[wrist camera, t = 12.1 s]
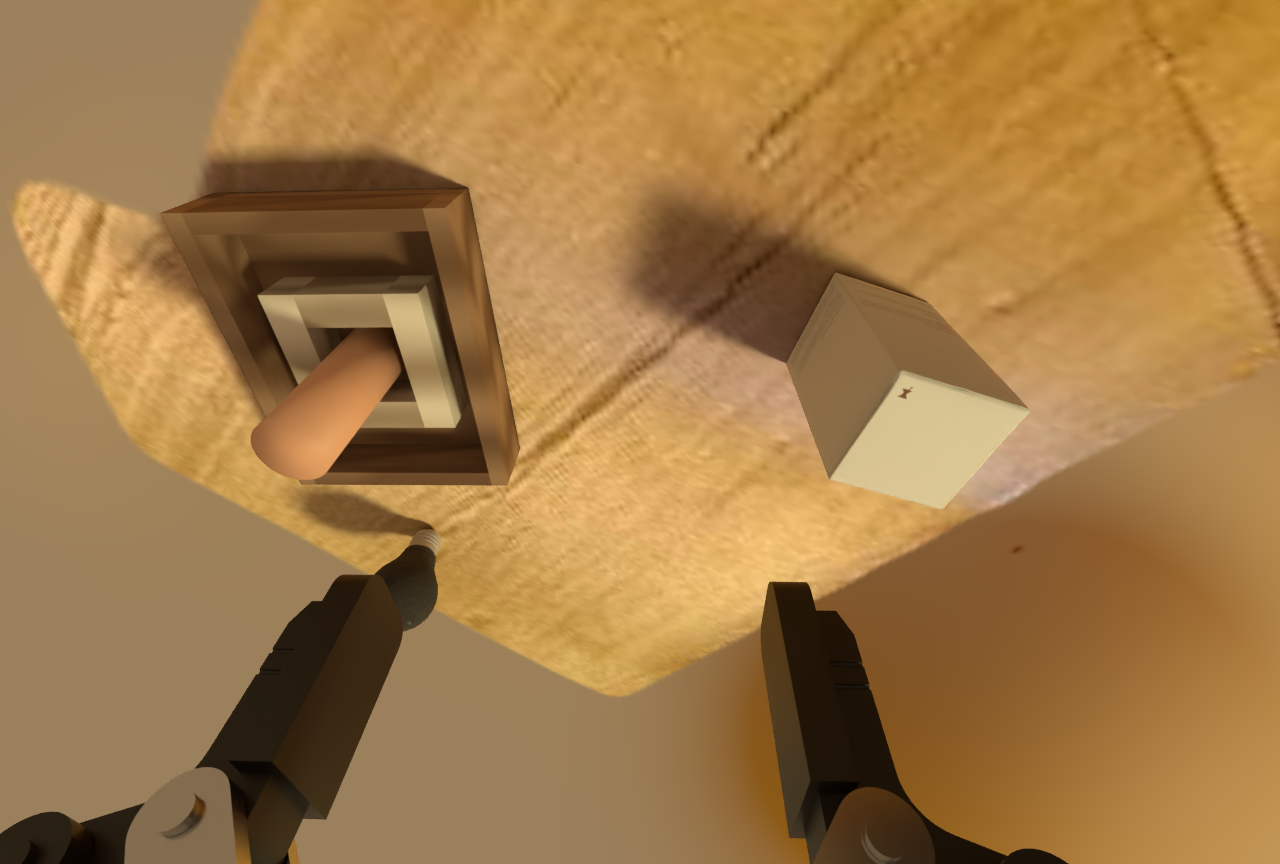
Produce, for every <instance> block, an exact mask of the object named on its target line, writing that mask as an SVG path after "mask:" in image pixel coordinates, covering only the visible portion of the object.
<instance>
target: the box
mask: <svg viewBox="0 0 1280 864" xmlns="http://www.w3.org/2000/svg"><path fill="white" fill-rule="evenodd" d="M160 215H161V217H162V219H163V221H164V223H165V224H166V226H167V228H168V230H169V232H170V234H171V236H172V238H173V240H174V242H175V244H176V246H177V247H178V249H179V251H180V253H181V255H182V257H183V259H184V261H185V263H186V265H187V267H188V268H189V270H190V272H191V274H192V276H193V278H194V280H195V282H196V284H197V286H198V288H199V290H200V291H201V293H202V295H203V297H204V299H205V301H206V303H207V305H208V307H209V309H210V311H211V313H212V314H213V316H214V318H215V320H216V322H217V324H218V326H219V328H220V330H221V332H222V334H223V336H224V337H225V339H226V341H227V343H228V345H229V347H230V349H231V351H232V353H233V355H234V357H235V359H236V360H237V362H238V364H239V366H240V368H241V370H242V372H243V374H244V376H245V378H246V380H247V382H248V383H249V385H250V387H251V389H252V391H253V393H254V395H255V397H256V399H257V401H258V403H259V405H260V406H261V408H262V410H263V412H264V414H265V416H266V417H267V416H268V415H269V414H270V413H271V412H272V411H273V410H274V409H275V408H276V407H277V406H278V405H279V404H280V403H281V402H282V401H283V400H284V399H285V398H286V397H287V396H288V395H289V394H290V393H291V392H292V391H293V390H294V389H295V388H296V387H297V386H298V385H299V384H300V383H301V382H302V381H303V380H304V379H305V378H306V377H307V376H308V375H309V374H310V373H311V372H312V371H313V370H314V369H315V368H316V367H317V366H318V365H319V364H320V363H321V362H322V361H323V360H324V359H325V358H326V357H327V356H328V355H329V354H330V353H331V352H332V351H333V350H334V349H335V348H336V347H337V346H338V345H339V344H340V343H341V342H342V341H343V340H344V339H345V338H346V337H347V336H348V335H349V334H350V333H351V332H352V331H353V330H354V329H355V328H366V327H393V329H394V333H395V336H396V339H397V342H398V345H399V348H400V351H401V354H402V358H403V361H404V364H405V368H404V370H403V371H402V372H401V374H400V375H399V376H398V378H397V379H396V380H395V382H394V383H393V384H392V386H391V387H390V388H389V390H388V391H387V392H386V394H385V395H384V396H383V398H382V399H381V400H380V402H379V403H378V404H377V406H376V407H375V408H374V410H373V411H372V412H371V414H370V415H369V416H368V418H367V419H366V420H365V422H364V423H363V424H362V426H361V427H360V428H359V430H358V431H357V432H356V434H355V435H354V436H353V438H352V439H351V440H350V442H349V443H348V444H347V446H346V447H345V448H344V450H343V451H342V452H341V454H340V455H339V456H338V458H337V459H336V460H335V462H334V463H333V464H332V466H331V467H330V468H329V470H328V471H327V472H326V473H325V474H324V475H323V476H321V477H319V478H317V479H312V480H299V481H300V483H301V484H329V485H508V482H509V479H510V476H511V473H512V471H513V468H514V465H515V462H516V459H517V456H518V453H519V450H520V446H519V441H518V436H517V431H516V425H515V420H514V415H513V410H512V405H511V400H510V395H509V390H508V385H507V380H506V375H505V370H504V365H503V360H502V355H501V350H500V345H499V340H498V335H497V330H496V324H495V319H494V314H493V309H492V304H491V299H490V294H489V289H488V284H487V279H486V274H485V269H484V264H483V259H482V254H481V249H480V244H479V239H478V234H477V229H476V223H475V218H474V213H473V208H472V203H471V198H470V193H469V188H442V189H393V190H343V191H294V192H244V193H212V194H210V195H207V196H204V197H202V198H199V199H196V200H194V201H191V202H188V203H186V204H183V205H181V206H178V207H175V208H173V209H170V210H167V211H165V212H162V213H160Z"/></svg>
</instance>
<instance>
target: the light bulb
mask: <svg viewBox="0 0 1280 864" xmlns="http://www.w3.org/2000/svg"><path fill="white" fill-rule="evenodd" d="M440 543H441V538H440V537H439V535H438V534H437V533H436V532H435V531H434V530H432V529H423V530H419V531H418V532H417V533H416V534H415V535H414V536H413V539H412V540H411V542H410V545H409V546H408V547H407V548H406V549H405V550H404V551H403V553H402V554H401V555H400V556H399V557H398V558H397V559H395V560H393V561H391V562H390V563H388V564H386V565H385V566H383V567H382V568H381V569H380V570H378V571H377V572H376V573H375V574H374V575H379V576H381V577H382V578H383V579H384V581H385V583H386V585H387V587H388V590H389V592H390V594H391V596H392V598H393V600H394V602H395V605H396V607H397V609H398V611H399V613H400V615H401V618H402V622H403V631H407V630H409V629H412V628H415V627H416V626H418V625H419V624H421V623H422V622H423V621H424V620H425V619H426V618H428V616H429V615H430V613H431V612H432V610H433V609H434V606H435V604H436V600H437V595H438V585H437V581H436V576H435V571H434V567H435V562H436V554H437V552H438V549H439V547H440Z"/></svg>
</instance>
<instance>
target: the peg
mask: <svg viewBox="0 0 1280 864" xmlns="http://www.w3.org/2000/svg"><path fill="white" fill-rule="evenodd" d="M404 368H405V364H404V361H403V358H402V354H401V351H400V348H399V345H398V342H397V339H396V336H395V333H394V329H393V327H366V328H355V329H354V330H353V331H352V332H351V333H350V334H349V335H348V336H347V337H346V338H345V339H344V340H343V341H342V342H341V343H340V344H339V345H338V346H337V347H336V348H335V349H334V350H333V351H332V352H331V353H330V354H329V355H328V356H327V357H326V358H325V359H324V360H323V361H322V362H321V363H320V364H319V365H318V366H317V367H316V368H315V369H314V370H313V371H312V372H311V373H310V374H309V375H308V376H307V377H306V378H305V379H304V380H303V381H302V382H301V383H300V384H299V385H298V386H297V387H296V388H295V389H294V390H293V391H292V392H291V393H290V394H289V395H288V396H287V397H286V398H285V399H284V400H283V401H282V402H281V403H280V404H279V405H278V406H277V407H276V408H275V409H274V410H273V411H272V412H271V413H270V414H269V415H268V416H267V417H266V418H265V419H264V420H263V421H262V422H261V423H260V424H259V425H258V426H257V427H256V428H255V429H254V430H253V432H252V434H251V444H252V447H253V450H254V452H255V453H256V455H257V456H258V457H259V459H260V460H261V461H262V462H263V463H264V464H266V465H267V466H268V467H269V468H271V469H272V470H274V471H276V472H277V473H279V474H281V475H284V476H286V477H290V478H293V479H299V480H312V479H317V478H319V477H321V476H323V475H324V474H325V473H326V472H327V471H328V470H329V468H330V467H331V466H332V464H333V463H334V462H335V460H336V459H337V458H338V456H339V455H340V454H341V452H342V451H343V450H344V448H345V447H346V446H347V444H348V443H349V442H350V440H351V439H352V438H353V436H354V435H355V434H356V432H357V431H358V430H359V428H360V427H361V426H362V424H363V423H364V422H365V420H366V419H367V418H368V416H369V415H370V414H371V412H372V411H373V410H374V408H375V407H376V406H377V404H378V403H379V402H380V400H381V399H382V398H383V396H384V395H385V394H386V392H387V391H388V390H389V388H390V387H391V386H392V384H393V383H394V382H395V380H396V379H397V378H398V376H399V375H400V374H401V372H402V371H403V370H404Z"/></svg>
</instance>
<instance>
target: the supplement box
mask: <svg viewBox="0 0 1280 864" xmlns="http://www.w3.org/2000/svg"><path fill="white" fill-rule="evenodd" d="M787 367H788V370H789V373H790V375H791V378H792V381H793V384H794V386H795V389H796V391H797V394H798V397H799V399H800V402H801V405H802V407H803V410H804V413H805V416H806V418H807V421H808V424H809V427H810V429H811V432H812V434H813V437H814V440H815V443H816V445H817V448H818V450H819V453H820V456H821V459H822V461H823V464H824V466H825V469H826V472H827V475H828V478H829V479H830V480H832V481H836V482H840V483H844V484H848V485H852V486H856V487H859V488H863V489H867V490H871V491H874V492H878V493H882V494H886V495H889V496H893V497H897V498H901V499H904V500H908V501H912V502H915V503H919V504H923V505H926V506H930V507H934V508H937V509H943V508H944V507H945V506H946V504H947V503H948V502H949V501H950V500H951V499H952V498H953V497H954V496H955V495H956V493H957V492H958V491H959V490H960V489H961V488H962V487H963V486H964V484H965V483H966V482H967V481H968V480H969V479H970V478H971V477H972V476H973V474H974V473H975V472H976V471H977V470H978V469H979V468H980V467H981V465H982V464H983V463H984V462H985V461H986V460H987V458H988V457H989V456H990V455H991V454H992V453H993V452H994V450H995V449H996V448H997V447H998V446H999V445H1000V444H1001V443H1002V442H1003V440H1004V439H1005V438H1006V437H1007V436H1008V435H1009V434H1010V433H1011V432H1012V431H1013V430H1014V429H1015V428H1016V427H1017V425H1018V424H1019V423H1020V422H1021V421H1022V420H1023V419H1024V418H1025V417H1026V416H1027V415H1028V414H1029V412H1030V410H1029V409H1028V407H1027V406H1026V405H1025V404H1024V403H1023V402H1022V401H1021V400H1020V399H1019V397H1018V396H1017V395H1016V394H1015V393H1014V392H1013V391H1012V390H1011V389H1010V388H1009V387H1008V386H1007V384H1006V383H1005V382H1004V381H1003V380H1002V379H1001V378H1000V377H999V376H998V375H997V374H996V373H995V372H994V371H993V370H992V369H991V368H990V367H989V366H988V365H987V364H986V363H985V361H984V360H983V359H982V358H981V357H980V356H979V355H978V354H977V353H976V352H975V351H974V350H973V349H972V348H971V347H970V346H969V345H968V344H967V343H966V342H965V341H964V340H963V338H962V337H961V336H960V335H959V334H958V333H957V332H956V331H955V330H954V329H953V328H952V327H951V326H950V325H949V324H948V323H947V322H946V320H945V319H944V318H943V317H942V316H941V315H940V314H939V313H938V312H937V311H936V310H935V309H934V308H933V306H932V305H931V304H929V303H927V302H924V301H921V300H918V299H915V298H913V297H910V296H907V295H904V294H900V293H897V292H894V291H891V290H888V289H885V288H882V287H879V286H876V285H873V284H870V283H867V282H864V281H861V280H858V279H855V278H851V277H848V276H845V275H842V274H840V273H835V274H834V276H833V277H832V279H831V281H830V283H829V285H828V286H827V288H826V290H825V292H824V294H823V295H822V297H821V299H820V301H819V303H818V305H817V307H816V308H815V310H814V312H813V314H812V316H811V318H810V320H809V321H808V323H807V325H806V327H805V329H804V331H803V333H802V334H801V336H800V338H799V340H798V342H797V344H796V346H795V348H794V349H793V351H792V353H791V355H790V357H789V359H788V361H787Z"/></svg>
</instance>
